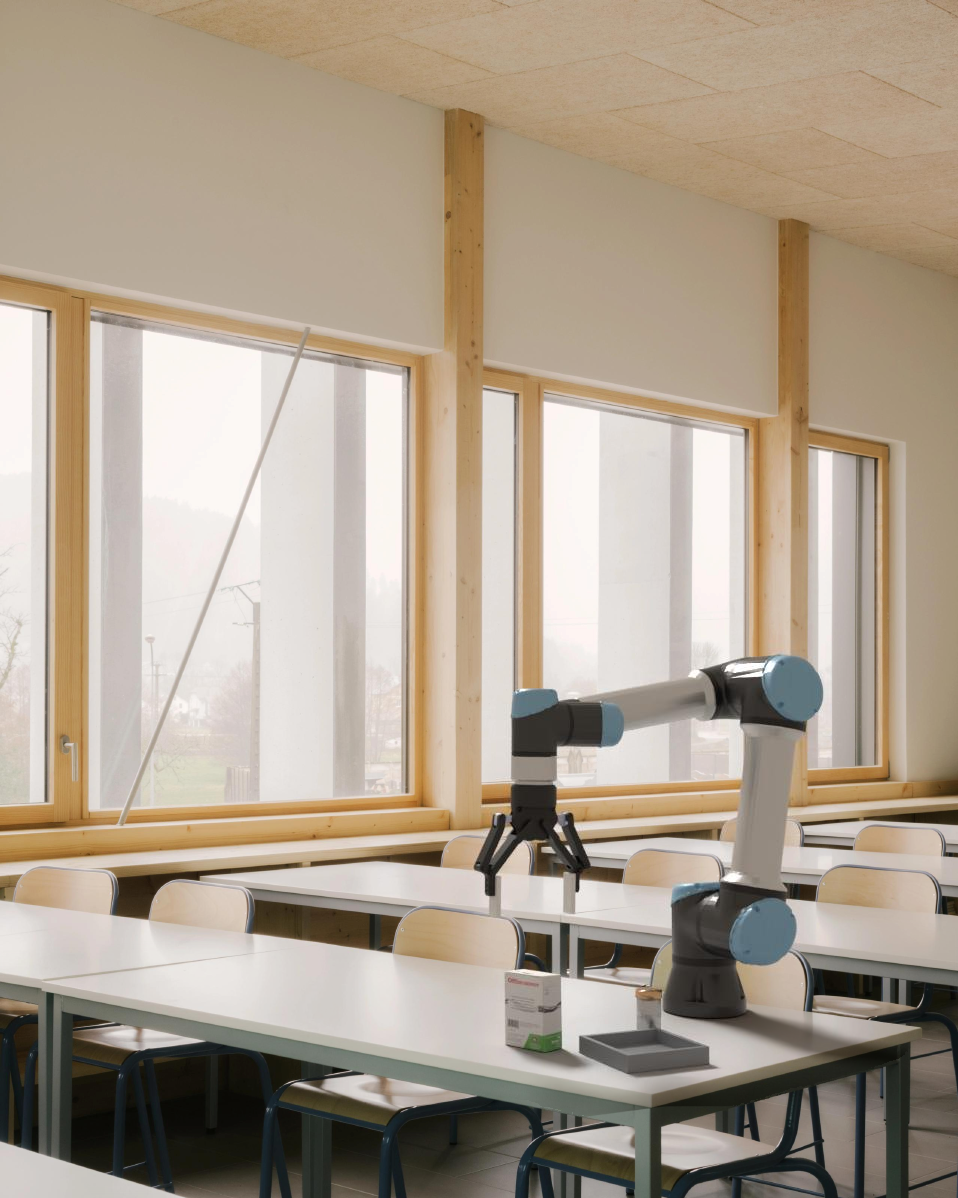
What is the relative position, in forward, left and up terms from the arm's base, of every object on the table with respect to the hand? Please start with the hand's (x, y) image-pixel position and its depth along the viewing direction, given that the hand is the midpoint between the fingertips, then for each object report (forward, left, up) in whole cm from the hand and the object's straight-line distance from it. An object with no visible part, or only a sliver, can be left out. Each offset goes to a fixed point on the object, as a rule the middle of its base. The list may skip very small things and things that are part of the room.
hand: (532, 915), depth 228 cm
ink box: (0, 0, -21) cm, 21 cm away
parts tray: (-12, +14, -21) cm, 28 cm away
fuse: (-20, +3, -21) cm, 29 cm away
